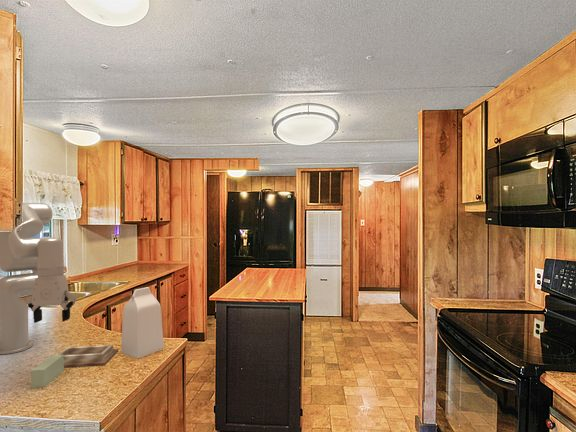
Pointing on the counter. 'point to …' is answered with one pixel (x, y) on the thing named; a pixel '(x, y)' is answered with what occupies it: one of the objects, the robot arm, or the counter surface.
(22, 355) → the counter surface
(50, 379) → the bar
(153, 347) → the milk
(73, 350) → the brown rectangular tray
